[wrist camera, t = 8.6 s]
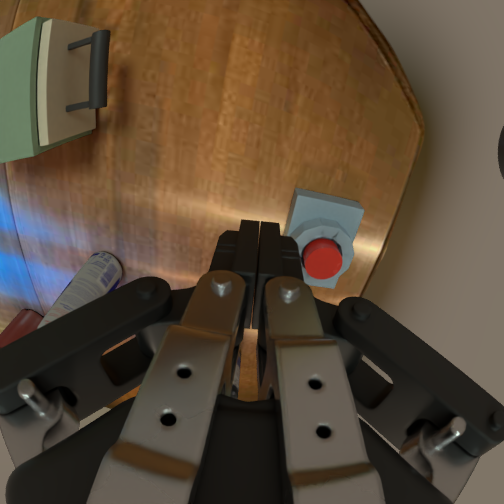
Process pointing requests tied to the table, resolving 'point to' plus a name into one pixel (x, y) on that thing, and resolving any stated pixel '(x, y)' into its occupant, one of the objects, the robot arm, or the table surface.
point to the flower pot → (20, 326)
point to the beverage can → (87, 285)
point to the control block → (323, 227)
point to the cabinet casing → (21, 94)
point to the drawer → (70, 79)
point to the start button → (322, 259)
